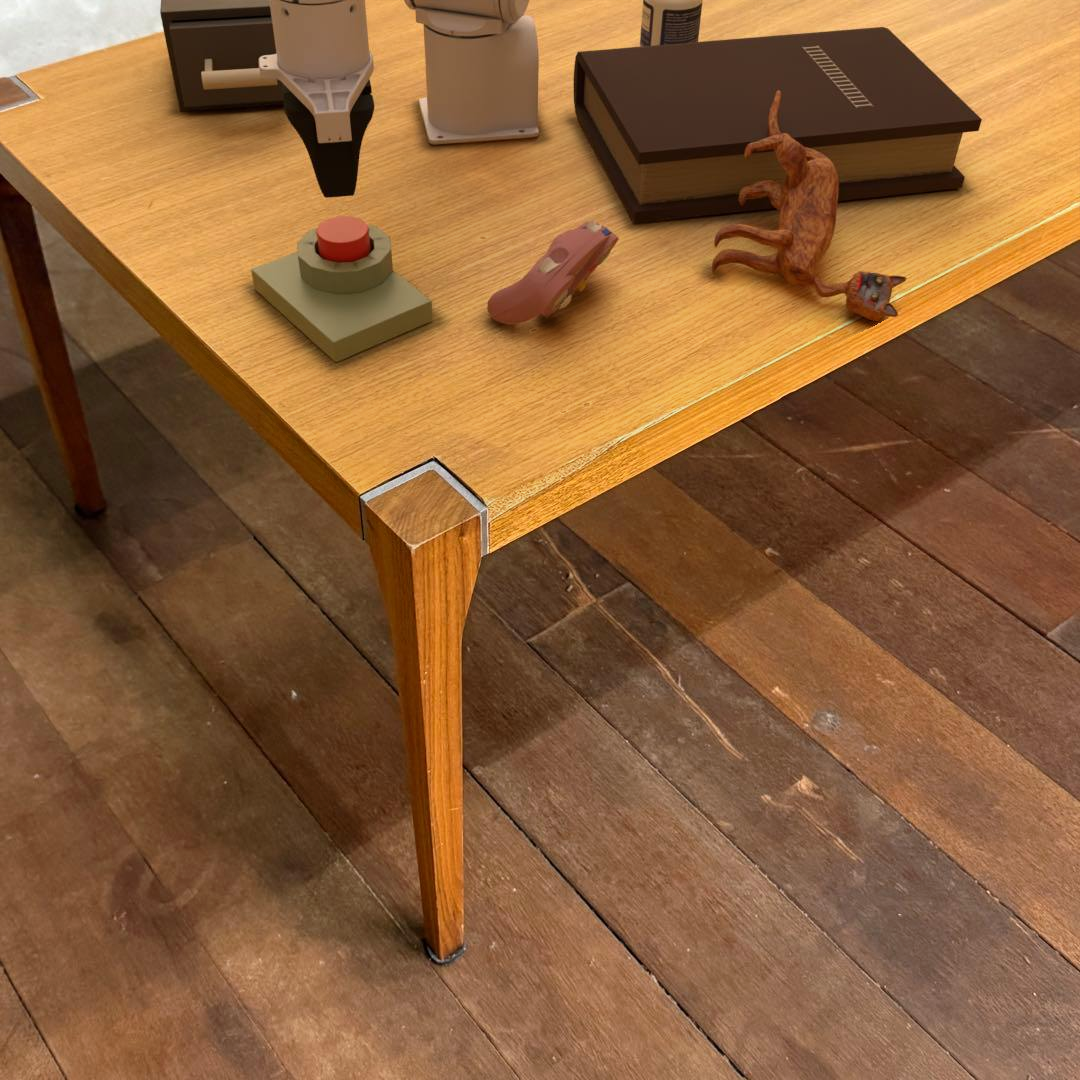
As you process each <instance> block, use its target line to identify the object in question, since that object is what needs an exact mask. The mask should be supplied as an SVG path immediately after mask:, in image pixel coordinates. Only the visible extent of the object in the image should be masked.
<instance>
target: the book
mask: <svg viewBox="0 0 1080 1080" xmlns="http://www.w3.org/2000/svg"><path fill="white" fill-rule="evenodd" d="M573 67H574V69H573V105H574V112H575V116H576V118H577V121H578V123H579V125H580V126H581V129H582V131H583V132H584V134H585V136H586V138H587V140H588V141H589V144H590V145H591V147H592V148H593V149H592V150H594V152H595V154H596V156H597V158H598V160H599V162H600V163H601V165H602V167H603V170H604V171H605V173H606V175H607V176H608V178H609V180H610V182H611V184H612V185H613V187H614V189H615V191H616V193H617V195H618V197H619V198H620V200H621V202H622V204H623V206H624V207H625V210H626V211H627V213H628V216H629V217H630V219H631V221H632V222H633V224H638V223H648V222H657V221H665V220H666V221H667V220H675V219H676V220H677V219H685V218H686V219H687V218H694V217H695V218H696V217H702V216H713V215H720V214H721V215H722V214H733V213H740V212H750V211H759V210H760V211H761V210H770V209H776V208H775V207H774V206H773V205H772V203H771V201H770V199H769V197H768V196H765V197H761V198H756V199H746V201H745V202H744V204H743V205H741V204H740V203H739V194H740V191H741V189H742V188H744V187H747V186H750V185H752V184H754V183H756V182H759V181H765V180H774V181H777V182H778V183H779V184H780V186H781V187H782V184H783V182H784V179H785V177H786V175H787V173H786V171H785V169H784V168H783V167H782V165H781V164H780V163H779V161H778V158H777V155H776V153H775V150H773V149H768V150H763V151H753V152H752V153H751V155H750V157H748V158H745V157H744V153H745V149H746V147H747V145H748V144H750V143H752V142H757V141H760V140H762V139H765V138H768V137H769V135H768V130H767V120H768V115H769V111H770V108H771V105H772V103H773V100H774V97H775V94H776V92H777V91H781V94H782V95H781V102H780V107H779V110H778V115H777V120H778V127H779V130H780V132H781V133H787V134H789V135H790V136H791V137H792V138H793V139H794V140H796V141H797V142H799V143H800V144H801V145H803V146H804V147H807V148H810V149H814V150H816V151H818V152H820V153H822V154H823V155H825V156H826V157H827V158H829V159H830V160H831V161H832V163H833V165H834V167H835V169H836V172H837V175H838V181H839V192H838V201H837V202H843V201H851V200H862V199H869V198H870V199H871V198H880V197H888V196H899V195H908V194H917V193H918V194H919V193H926V192H934V191H935V192H936V191H944V190H953V189H963V185H964V181H965V179H966V176H965V175H964V174H963V172H961V171H960V170H959V169H958V168H957V166H955V161H956V159H957V155H958V152H959V148H960V145H961V141H962V138H963V134H964V133H972V132H979V131H980V128H981V124H982V121H983V118H981V117H980V116H979V115H978V114H977V112H976V111H974V110H973V109H972V108H971V107H970V106H969V105H968V104H967V103H966V102H965V101H964V100H963V99H962V98H961V97H959V95H957V93H956V92H955V91H953V90H952V88H950V87H949V86H948V85H947V84H946V83H945V82H944V81H943V80H942V79H941V78H940V77H939V76H938V75H937V74H936V73H935V72H934V71H933V70H931V68H929V66H928V65H927V64H926V63H924V61H922V59H920V57H918V56H917V55H916V53H914V52H913V51H912V50H911V49H910V48H909V47H908V46H907V45H906V44H905V43H904V42H903V41H901V39H899V37H897V35H895V34H894V33H893V32H892V31H891V30H890V29H889V28H888V27H885V26H878V27H877V26H876V27H865V28H864V27H863V28H853V29H840V30H828V31H816V32H815V31H814V32H803V33H802V32H801V33H792V34H791V33H790V34H780V35H779V34H778V35H765V36H756V37H755V36H754V37H743V38H742V37H741V38H729V39H718V40H717V39H716V40H706V41H705V40H703V41H698V42H691V43H679V44H667V45H655V46H642V47H640V46H632V47H631V46H629V47H620V48H608V49H607V48H606V49H595V50H582V51H577V52H576V54H575V58H574V65H573Z"/></svg>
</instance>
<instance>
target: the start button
mask: <svg viewBox="0 0 1080 1080" xmlns="http://www.w3.org/2000/svg"><path fill="white" fill-rule="evenodd" d="M367 224H368V223H367V222H366V221H364V219H362V218H358V217H357V216H353V215H338V216H333V217H330V218H326V219H325V220H323V221H322V222H320V223H319V224H318V226H317V227H316V228H317V231H316V232H317V240H318V248H319V254H320V256H321V257H322V258H323V259H324V260H329V261H333V262H337V263H342V262H354V261H357V260H359V259H362V258H364V257H367V256H368V255H369V253H370V238H369V228H368V225H369V224H368V225H367Z"/></svg>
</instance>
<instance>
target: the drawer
mask: <svg viewBox="0 0 1080 1080" xmlns="http://www.w3.org/2000/svg"><path fill="white" fill-rule="evenodd" d="M169 30H170V35H171V40H172V45H173V50H174V55H175V60H176V65H177V70H178V75H179V80H180V85H181V90H182V95H183V101H184V106H185V107H194V106H210V105H225V104H240V103H255V102H270V101H284V100H283V88H282V86H283V83H282V82H281V81H280V80H278V79H263V78H262V77H261V76H260V70H259V58H260V57H261V56H264V55H273V54H277V53H276V46H275V39H274V31H273V24H272V17H271V15H270V16H252V17H234V18H216V19H198V20H180V23H170V27H169Z"/></svg>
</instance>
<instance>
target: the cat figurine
mask: <svg viewBox="0 0 1080 1080" xmlns="http://www.w3.org/2000/svg"><path fill="white" fill-rule="evenodd" d="M781 95H782V94H781V91H777V92H776V94H775V97H774V100H773V103H772V105H771V108H770V111H769V115H768V120H767V130H768V135H769V137H768V138H765V139H762V140H760V141H757V142H752V143H750V144H748V145H747V147H746V149H745V153H744V157H745V158H748V157H750V155H751V153H752V152H753V151H763V150H768V149H773V150H775V153H776V155H777V158H778V161H779V163H780V164H781V165H782V167H783V168H784V169H785V171H786V173H787V175H786V177H785V179H784V182H783V184H782V187H781V186H780V184H779V183H778V182H777V181H774V180H765V181H759V182H756V183H754V184H752V185H750V186H747V187H744V188H742V189H741V191H740V194H739V203H740V204H741V205H743V204H744V202H745V201H746V199H756V198H761V197H765V196H768V197H769V199H770V201H771V203H772V205H773V206H774V207H775V208H774V209H776V210H777V211H779V219H778V220H779V221H778V229H775V230H766V229H762V228H759V227H756V226H752V225H748V224H742V223H729V224H725V225H723V226H722V227H721V228H720V229H719V230H718V231H717V233H716V234H715V237H714V248H717V247H718V245H719V244H720V242H722V241H723V240H726V239H732V238H744V239H748V240H750V241H753V242H755V243H758V244H760V245H764V246H768V247H772V248H775V249H777V250H776V251H777V253H774V254H770V255H767V254H766V255H761V254H758V253H755V252H751V251H747V250H743V249H737V248H724V249H723V250H720V251H719V252H718V253H717V254H716V255H715V256H714V258H713V259H712V265H711V273H712V274H715V272H716V270H717V269H718V268H719V267H720V266H726V265H732V264H738V265H739V264H740V265H742V266H743V265H744V266H746V267H748V268H750V269H752V270H755V271H758V272H762V273H765V274H772V275H781V274H782V275H783V277H784V278H785V280H786V281H787V282H788V283H789V284H790V285H792V286H793V287H797V288H804V287H809V286H810V287H813V288H814V289H815V291H816V293H817V295H818V296H819V297H820V298H825V299H826V298H831V297H834V296H837V295H841V294H844V295H845V296H846V297H845V306H846V309H847V310H848V311H849V312H850V313H853V314H856V315H859V316H861V317H863V318H865V319H868V320H870V321H873V322H879V320H881V318H883V317H884V316H888V317H891V318H897V317H898V316H899V313H898V311H897V309H896V308H895V307H894V306H893V304H892V303H891V298H892V292H893V289H895V288H896V287H897V286H899V285H901V284H903V283H905V282H906V281H907V277H905V276H903V275H888V274H887V275H886V274H882V273H879V272H870V271H863V270H859V271H857V272H856V273H854V275H853V276H852V277H850V280H848V281H846V282H836V283H830V284H823V282H822V279H821V278H820V274H819V269H818V263H820V261H821V259H823V257H824V256H825V255H826V254H827V252H828V250H829V248H830V246H831V244H832V240H833V237H834V233H835V230H836V221H837V212H838V202H839V201H838V192H839V181H838V175H837V172H836V169H835V167H834V165H833V163H832V161H831V160H830V159H829V158H827V157H826V156H825V155H823V154H822V153H820V152H818V151H816V150H814V149H810V148H807V147H804V146H803V145H801V144H800V143H799V142H797V141H796V140H794V139H793V138H792V137H791V136H790V135H789V134H787V133H781V132H780V130H779V127H778V120H777V115H778V110H779V107H780V102H781Z"/></svg>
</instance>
